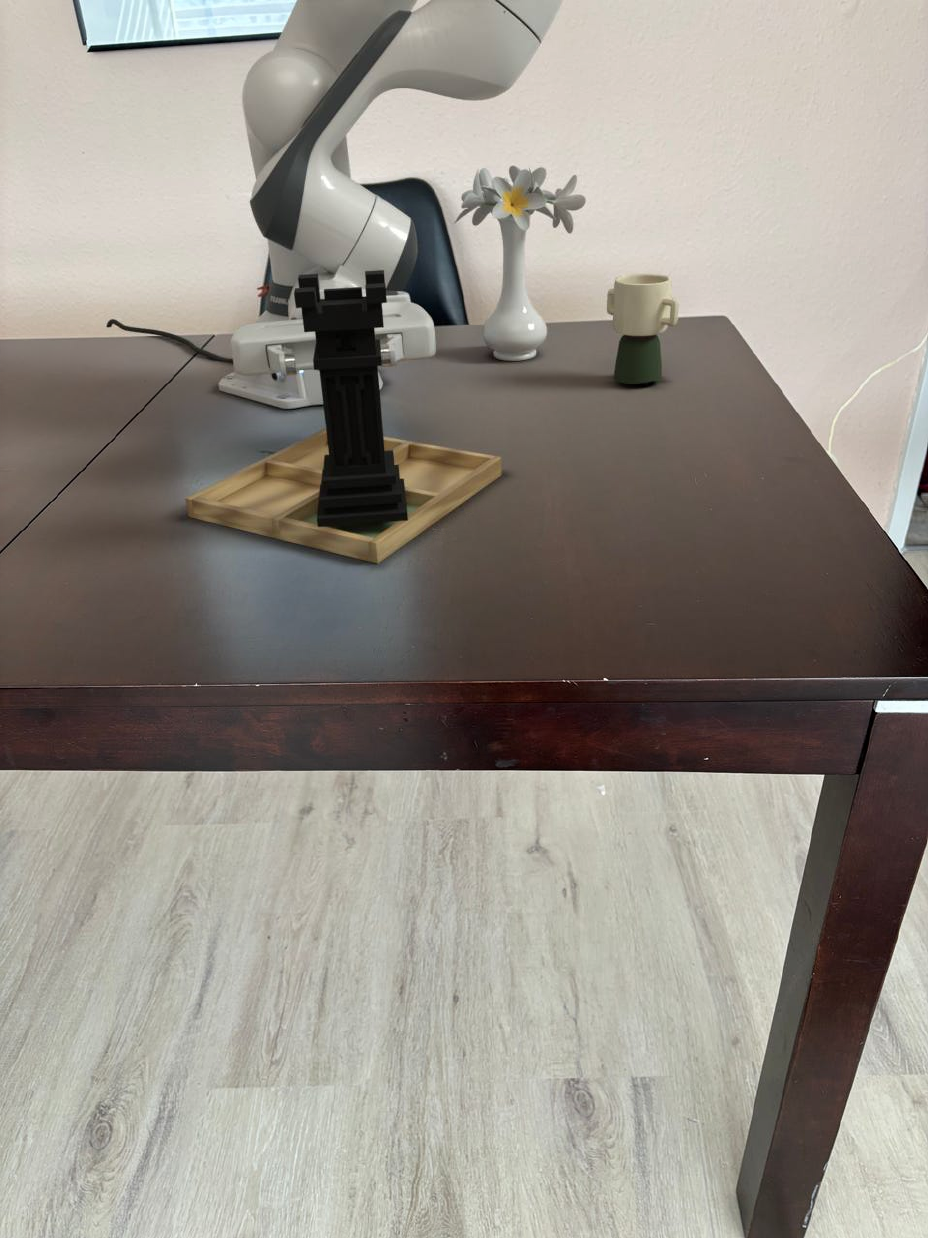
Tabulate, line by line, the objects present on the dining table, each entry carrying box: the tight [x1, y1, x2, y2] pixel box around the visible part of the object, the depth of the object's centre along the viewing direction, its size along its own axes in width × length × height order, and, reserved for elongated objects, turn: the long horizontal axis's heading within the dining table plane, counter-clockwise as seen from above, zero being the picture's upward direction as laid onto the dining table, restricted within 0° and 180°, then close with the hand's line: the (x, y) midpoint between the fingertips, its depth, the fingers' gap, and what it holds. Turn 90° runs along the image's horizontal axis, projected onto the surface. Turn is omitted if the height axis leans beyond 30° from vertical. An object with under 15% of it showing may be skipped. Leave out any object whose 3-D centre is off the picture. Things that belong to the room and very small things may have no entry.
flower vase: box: [453, 165, 587, 362], centre depth 132 cm, size 13×18×25 cm
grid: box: [184, 427, 502, 564], centre depth 95 cm, size 22×22×2 cm
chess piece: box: [294, 270, 408, 527], centre depth 83 cm, size 8×8×20 cm
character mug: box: [606, 273, 680, 386], centre depth 121 cm, size 11×7×13 cm, turn 43°
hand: (338, 362), depth 90 cm, fingers open, 8 cm apart
